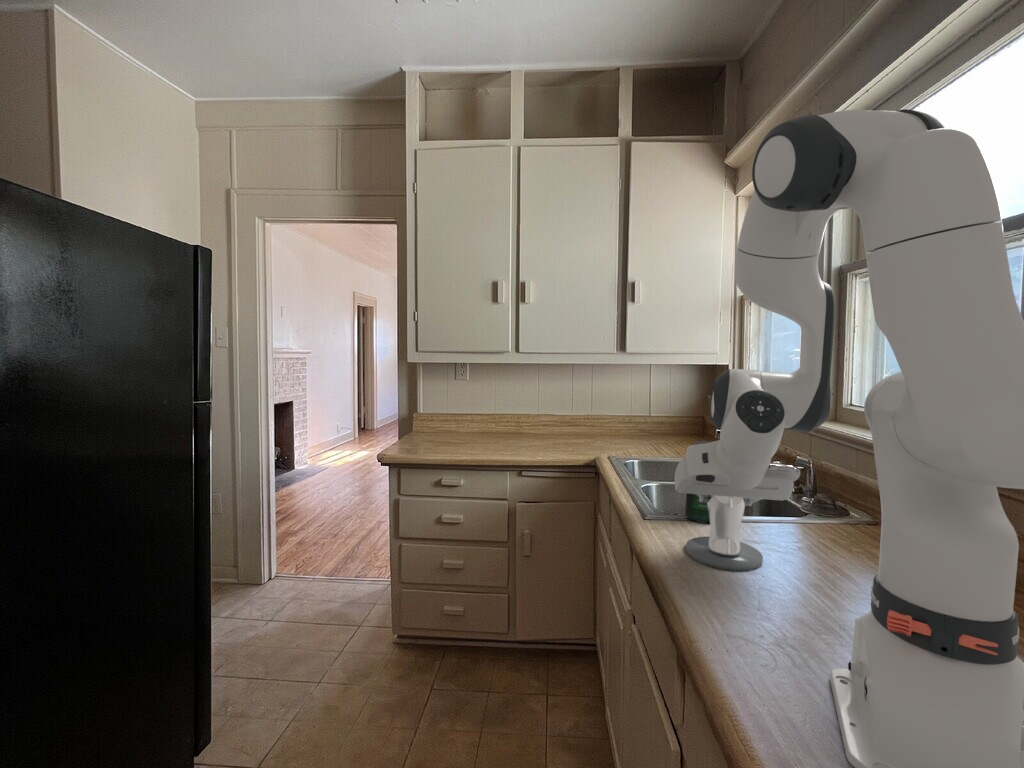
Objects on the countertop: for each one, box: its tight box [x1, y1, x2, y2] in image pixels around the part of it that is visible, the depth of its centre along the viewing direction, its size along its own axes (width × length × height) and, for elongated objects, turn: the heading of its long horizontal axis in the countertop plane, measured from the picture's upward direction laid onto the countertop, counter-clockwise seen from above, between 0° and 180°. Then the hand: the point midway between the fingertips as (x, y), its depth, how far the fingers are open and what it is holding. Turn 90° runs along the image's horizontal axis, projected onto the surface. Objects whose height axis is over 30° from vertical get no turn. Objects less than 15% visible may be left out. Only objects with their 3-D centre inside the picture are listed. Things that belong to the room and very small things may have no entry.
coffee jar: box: [684, 440, 712, 524], centre depth 117 cm, size 10×8×19 cm
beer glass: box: [707, 495, 746, 556], centre depth 95 cm, size 7×7×15 cm
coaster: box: [685, 536, 764, 572], centre depth 96 cm, size 14×14×1 cm
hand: (724, 500), depth 96 cm, fingers open, 7 cm apart
